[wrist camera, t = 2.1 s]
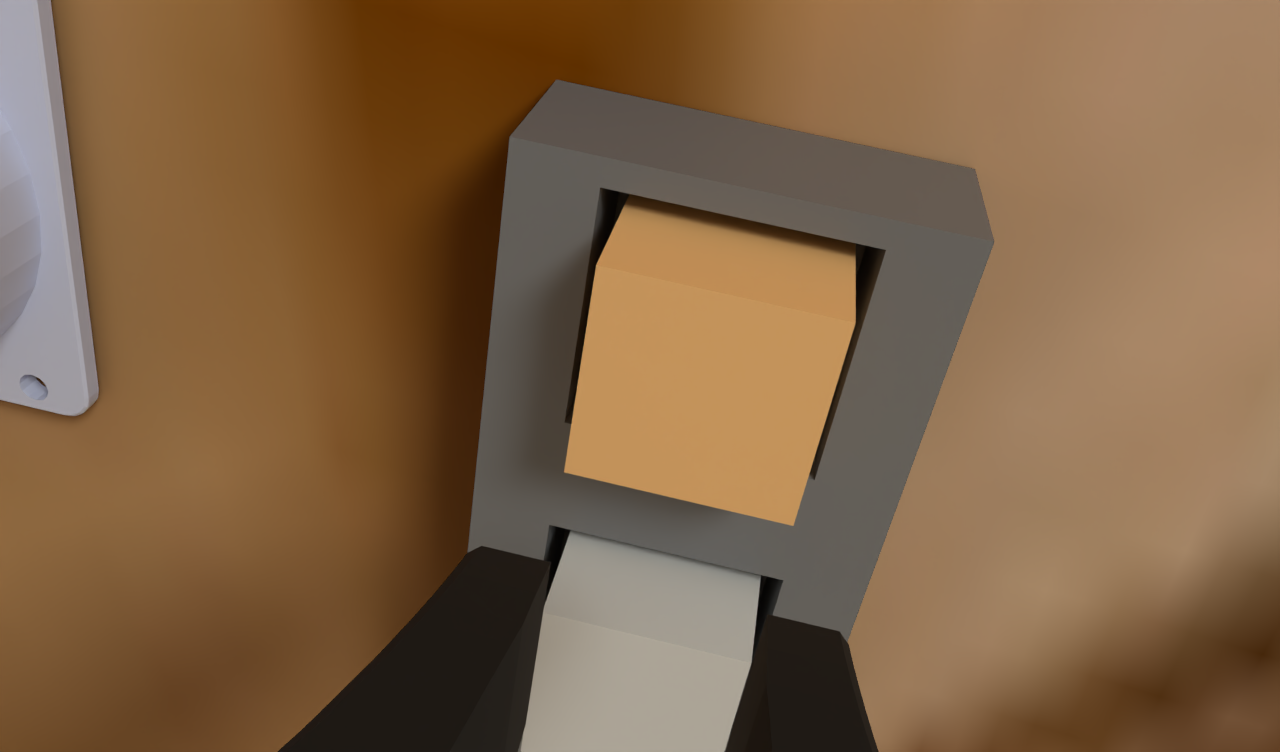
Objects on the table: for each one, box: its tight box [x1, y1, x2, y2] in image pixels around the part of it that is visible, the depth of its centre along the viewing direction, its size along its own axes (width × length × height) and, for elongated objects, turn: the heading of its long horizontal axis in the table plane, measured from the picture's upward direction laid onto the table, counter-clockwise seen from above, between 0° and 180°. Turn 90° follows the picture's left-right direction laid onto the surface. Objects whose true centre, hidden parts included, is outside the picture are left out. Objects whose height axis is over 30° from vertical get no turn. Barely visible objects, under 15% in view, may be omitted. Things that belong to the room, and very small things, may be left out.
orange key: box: [564, 194, 856, 526], centre depth 14 cm, size 3×3×2 cm
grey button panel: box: [468, 80, 994, 752], centre depth 18 cm, size 6×15×2 cm, turn 170°
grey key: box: [521, 530, 761, 752], centre depth 17 cm, size 3×3×2 cm
